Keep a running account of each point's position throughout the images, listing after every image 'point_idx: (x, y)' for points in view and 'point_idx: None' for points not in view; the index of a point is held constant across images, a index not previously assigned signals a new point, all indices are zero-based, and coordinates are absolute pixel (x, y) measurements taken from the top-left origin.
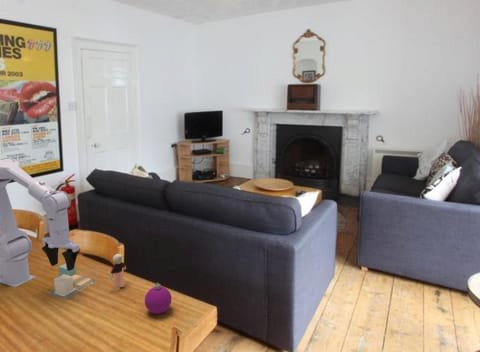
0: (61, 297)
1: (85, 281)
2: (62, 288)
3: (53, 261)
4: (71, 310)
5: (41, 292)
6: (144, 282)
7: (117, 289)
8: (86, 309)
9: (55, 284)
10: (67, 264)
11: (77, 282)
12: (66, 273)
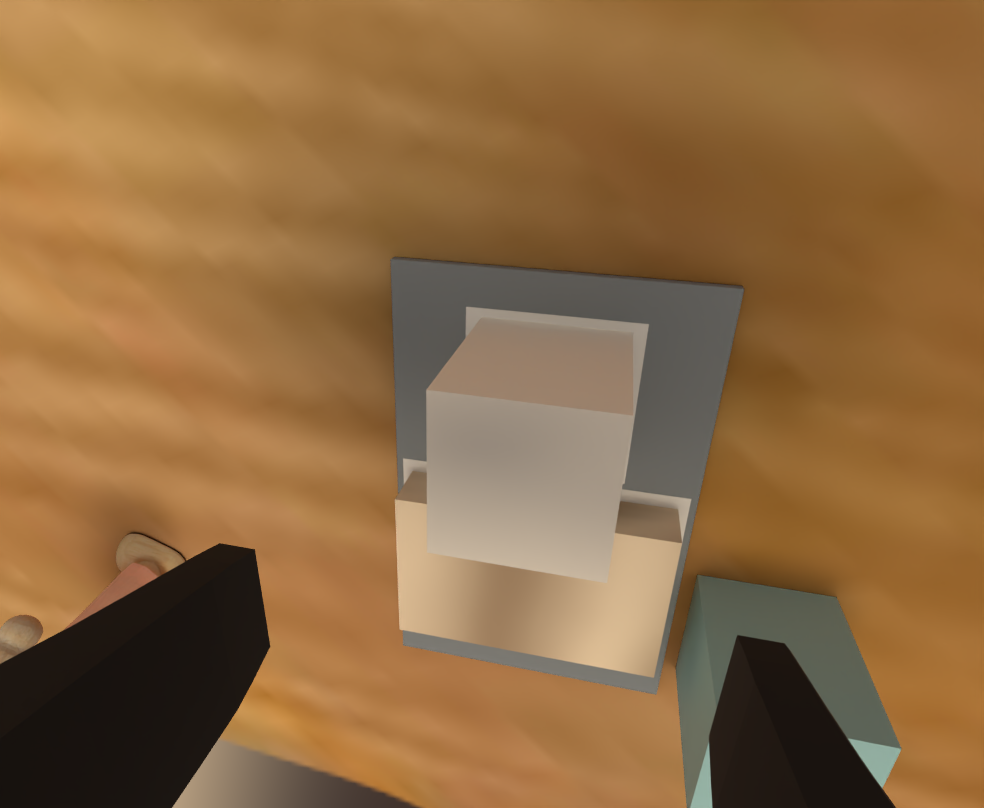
0: (475, 275)
1: (415, 580)
2: (469, 349)
3: (754, 768)
4: (168, 110)
5: (849, 291)
6: None
7: (117, 552)
8: (69, 196)
9: (608, 376)
10: (57, 643)
11: None
12: (717, 656)
